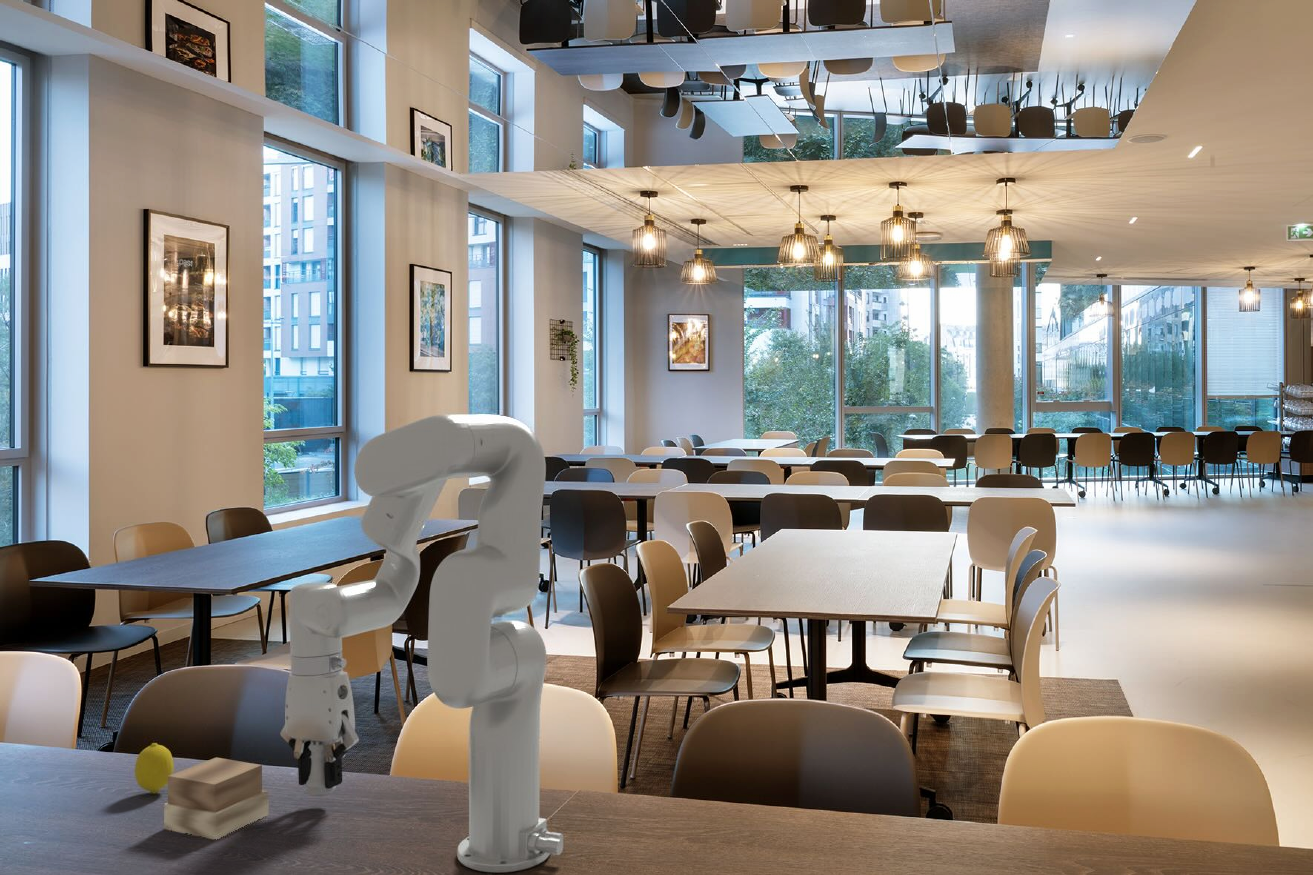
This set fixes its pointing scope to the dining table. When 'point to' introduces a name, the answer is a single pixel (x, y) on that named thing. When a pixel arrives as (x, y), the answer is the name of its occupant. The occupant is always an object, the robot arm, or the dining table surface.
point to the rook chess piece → (317, 771)
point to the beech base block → (216, 817)
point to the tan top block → (214, 784)
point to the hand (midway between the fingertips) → (320, 782)
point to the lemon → (154, 768)
